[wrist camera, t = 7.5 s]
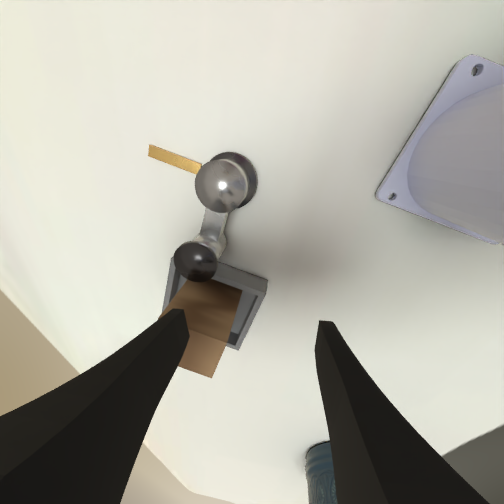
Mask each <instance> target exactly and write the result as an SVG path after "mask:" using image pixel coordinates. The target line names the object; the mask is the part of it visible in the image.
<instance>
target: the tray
mask: <svg viewBox="0 0 504 504" xmlns="http://www.w3.org/2000/svg"><path fill="white" fill-rule="evenodd" d="M211 279H214V280H216V281H219V282H222V283H224V284H227V285H230V286H232V287H235V288H238V289H241V290H243V291H242V294H241V298H240V301H239V304H238V308H237V311H236V314H235V318H234V321H233V324H232V328H231V331H230V334H229V338H228V341H227V344H226V346H227V347H230V348H233V349H236V350H238V351H239V348H240V346H241V344H242V342H243V340H244V338H245V336H246V334H247V332H248V330H249V328H250V326H251V324H252V321H253V319H254V317H255V315H256V313H257V311H258V309H259V307H260V305H261V303H262V301H263V299H264V296H265V294H266V289H267V281H268V280H266V279H263V278H260V277H257V276H255V275H252V274H249V273H247V272H244V271H241V270H239V269H236V268H233V267H230V266H228V265H225V264H222V263H220V262H218V269H217V271H216V273H215V275H214V276H213V277H212V278H211ZM186 281H187V279H186V278H184V277H183V276H182V275H181V274H180V273H179V272H178V271H177V269H176V267H175V265H174V256H173V257H172V258H171V262H170V268H169V274H168V280H167V286H166V292H165V298H164V303H163V309H162V312H163V311H164V310H165V309H166V307H167V306H168V305H169V303H170V302H171V301H172V299H173V298H174V297H175V295H176V294H177V293H178V291H179V290H180V289H181V287H182V286H183V285H184V283H185V282H186Z"/></svg>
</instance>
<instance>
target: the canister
mask: <svg viewBox="0 0 504 504" xmlns="http://www.w3.org/2000/svg"><path fill="white" fill-rule="evenodd" d="M305 470H306V479H307V483H308V496H309V504H337V496H336V487H335V478H334V469H333V461H332V453H331V445H330V442H328V443H323V444H320V445H317V446H315V447H313V448H312V449H310V450H309V452H308V453H307V456H306V466H305Z"/></svg>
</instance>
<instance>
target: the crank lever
mask: <svg viewBox="0 0 504 504" xmlns="http://www.w3.org/2000/svg"><path fill="white" fill-rule="evenodd" d="M195 190H196V194H197V196H198V198H199V200H200V201H201V203H202V204H203V205H204V206H205V207H206V210H205V215H204V219H203V223H202V227H201V232H200V234H199V235H198V236H197V237H196V238H195V239H194V240H193V241H189V242H185V243H184V244H182V245H181V246H180V247H179V248H178V249H177V250H176V251H175V253H174V265H175V267H176V269H177V271H178V272H179V273H180V274H181V275H182V276H183V277H184V278H186V279H188V280H190V281H193V282H206V281H208V280H210V279H211V278H212V277H213V276H214V275H215V273H216V271H217V269H218V259H219V258H220V256H221V254H222V253H223V251H224V250H225V248H226V245H227V240H226V237H225V235H224V234H223V230H224V227H225V224H226V220H227V217H228V213H229V212H231V211H233V210H234V209H236V208H237V207H238V206H239V205H240V204H241V202H242V201H243V200H244V199H245V198H246V196H247V195H248V193H249V190H250V176H249V174H248V171H247V170H246V168H245V167H244V166H243V165H242V164H241V163H240V162H238V161H236V160H233V159H220V160H213V161H210V162H207V163H206V164H204V165H203V166H202V167H201V168H200V169H199V171H198V173H197V175H196V178H195Z"/></svg>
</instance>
